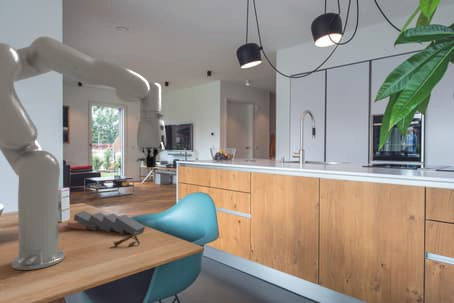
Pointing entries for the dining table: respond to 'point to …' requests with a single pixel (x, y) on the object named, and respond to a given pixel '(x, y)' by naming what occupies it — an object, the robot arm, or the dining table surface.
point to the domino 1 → (77, 225)
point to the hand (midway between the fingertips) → (151, 167)
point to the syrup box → (63, 204)
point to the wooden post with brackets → (127, 239)
